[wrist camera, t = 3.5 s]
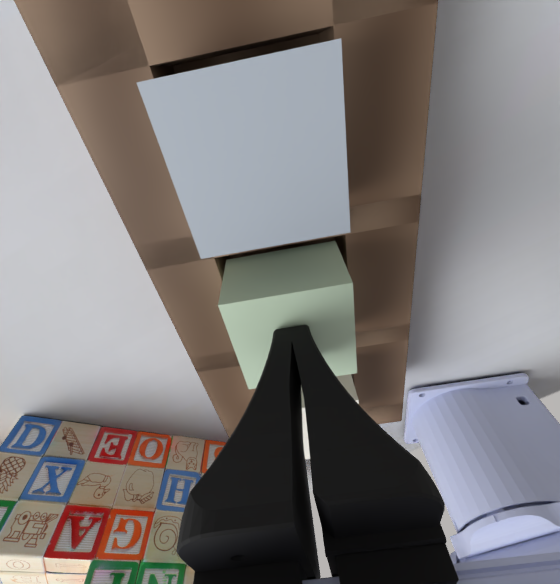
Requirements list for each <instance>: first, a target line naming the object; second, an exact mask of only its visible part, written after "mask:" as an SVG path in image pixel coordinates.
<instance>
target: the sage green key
mask: <svg viewBox="0 0 560 584" xmlns="http://www.w3.org/2000/svg"><path fill="white" fill-rule="evenodd" d="M218 307H219V310H220V312H221V315H222V318H223V321H224V323H225V326H226V329H227V331H228V334H229V337H230V340H231V342H232V345H233V348H234V351H235V353H236V356H237V359H238V362H239V364H240V367H241V370H242V372H243V375H244V378H245V381H246V383H247V386H248V389H255V388H256V387H257V385H258V382H259V380H260V377H261V375H262V372H263V369H264V366H265V363H266V360H267V358H268V354H269V351H270V347H271V343H272V338H273V332H274V331H275V330H276V329H281V328H287V327H294V326H300V325H307V326H309V329H310V332H311V335H312V337H313V339H314V341H315V343H316V345H317V347H318V349H319V351H320V353H321V354H322V356H323V358H324V359H325V361H326V362H327V364H328V366H329V367H330V369H331V370H332V372H333V373H334V374H335V376H342V375H348V374H355V373H357V358H356V337H355V316H354V295H353V282H352V279H351V277H350V275H349V272H348V270H347V267H346V265H345V263H344V260H343V258H342V255H341V253H340V251H339V248H338V246H337V243H336V241H330V242H324V243H318V244H313V245H307V246H301V247H296V248H290V249H284V250H279V251H273V252H267V253H262V254H256V255H250V256H245V257H239V258H233V259H228V260H226V264H225V270H224V275H223V281H222V286H221V291H220V297H219V302H218Z"/></svg>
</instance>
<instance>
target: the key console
mask: <svg viewBox="0 0 560 584" xmlns="http://www.w3.org/2000/svg"><path fill="white" fill-rule="evenodd" d="M14 1H15V3H16V5H17V7H18V10H19V12H20V14H21V16H22V18H23V20H24V22H25V24H26V26H27V28H28V30H29V32H30V34H31V36H32V38H33V40H34V42H35V44H36V46H37V48H38V50H39V52H40V54H41V56H42V58H43V60H44V62H45V64H46V66H47V68H48V70H49V72H50V75H51V77H52V79H53V81H54V83H55V85H56V87H57V89H58V91H59V93H60V95H61V97H62V99H63V101H64V103H65V105H66V107H67V109H68V111H69V113H70V115H71V117H72V119H73V121H74V123H75V125H76V127H77V129H78V131H79V133H80V135H81V138H82V140H83V142H84V144H85V146H86V148H87V150H88V152H89V154H90V156H91V158H92V160H93V162H94V164H95V166H96V168H97V170H98V172H99V174H100V176H101V178H102V180H103V182H104V184H105V186H106V188H107V190H108V192H109V194H110V196H111V198H112V201H113V203H114V205H115V207H116V209H117V211H118V213H119V215H120V217H121V219H122V221H123V223H124V225H125V227H126V229H127V231H128V233H129V235H130V237H131V239H132V241H133V243H134V245H135V247H136V249H137V251H138V253H139V255H140V257H141V259H142V261H143V264H144V266H145V268H146V270H147V272H148V274H149V276H150V278H151V280H152V282H153V284H154V286H155V288H156V290H157V292H158V294H159V296H160V298H161V300H162V302H163V304H164V306H165V308H166V310H167V312H168V314H169V316H170V318H171V320H172V322H173V324H174V326H175V329H176V331H177V333H178V335H179V337H180V339H181V341H182V343H183V345H184V347H185V349H186V351H187V353H188V355H189V357H190V359H191V361H192V363H193V365H194V367H195V369H196V371H197V373H198V375H199V377H200V379H201V381H202V383H203V385H204V387H205V389H206V392H207V394H208V396H209V398H210V400H211V402H212V404H213V406H214V408H215V410H216V412H217V414H218V416H219V418H220V420H221V422H222V424H223V426H224V428H225V430H226V432H227V434H228V436H229V438H230V436H231V435H232V433H233V432H234V430H235V428H236V426H237V425H238V423H239V421H240V419H241V418H242V416H243V414H244V412H245V410H246V408H247V406H248V404H249V402H250V400H251V398H252V396H253V394H254V392H255V389H256V388H255V389H248V386H247V383H246V381H245V378H244V375H243V372H242V370H241V367H240V364H239V362H238V359H237V356H236V353H235V351H234V348H233V345H232V342H231V340H230V337H229V334H228V331H227V329H226V326H225V323H224V321H223V318H222V315H221V312H220V310H219V307H218V302H219V297H220V291H221V286H222V281H223V275H224V270H225V264H226V260H228V259H233V258H239V257H245V256H250V255H256V254H262V253H267V252H273V251H279V250H284V249H290V248H296V247H301V246H307V245H313V244H318V243H324V242H330V241H336V243H337V246H338V248H339V251H340V253H341V255H342V258H343V260H344V263H345V265H346V267H347V270H348V272H349V275H350V277H351V279H352V282H353V295H354V316H355V337H356V358H357V373H355V374H351V376H352V379H353V383H354V386H355V390H356V393H357V396H358V400H359V405H360V406H361V408H362V409H363V410H364V411H365V412H366V413H367V414H368V415H369V416H370V417H371V418H372V419H373V420H374V421H375V422H376V423H377V424H382V423H389V422H397V421H401V420H402V408H403V397H404V385H405V374H406V362H407V351H408V340H409V328H410V317H411V305H412V294H413V282H414V271H415V259H416V248H417V236H418V225H419V213H420V202H421V190H422V179H423V167H424V156H425V144H426V133H427V121H428V110H429V98H430V87H431V75H432V64H433V52H434V41H435V29H436V18H437V6H438V0H14ZM340 38H341V43H342V64H343V85H344V106H345V127H346V148H347V169H348V190H349V211H350V233H345V234H339V235H333V236H328V237H322V238H316V239H311V240H305V241H300V242H294V243H288V244H283V245H277V246H271V247H266V248H260V249H255V250H249V251H243V252H238V253H232V254H226V255H221V256H215V257H210V258H204V259H201V258H200V255H199V252H198V250H197V247H196V244H195V241H194V239H193V236H192V233H191V230H190V228H189V225H188V222H187V219H186V217H185V214H184V211H183V209H182V206H181V203H180V200H179V198H178V195H177V192H176V189H175V187H174V184H173V181H172V179H171V176H170V173H169V170H168V168H167V165H166V162H165V159H164V157H163V154H162V151H161V148H160V146H159V143H158V140H157V138H156V135H155V132H154V129H153V127H152V124H151V121H150V118H149V116H148V113H147V110H146V107H145V105H144V102H143V99H142V97H141V94H140V91H139V88H138V86H137V82H141V81H146V80H150V79H155V78H160V77H164V76H169V75H174V74H178V73H183V72H187V71H192V70H197V69H201V68H206V67H211V66H215V65H220V64H225V63H229V62H234V61H238V60H243V59H248V58H252V57H257V56H262V55H266V54H271V53H275V52H280V51H285V50H289V49H294V48H299V47H303V46H308V45H312V44H317V43H322V42H326V41H331V40H336V39H340Z"/></svg>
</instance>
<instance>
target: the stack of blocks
mask: <svg viewBox="0 0 560 584" xmlns="http://www.w3.org/2000/svg"><path fill="white" fill-rule="evenodd" d="M225 444H226V442H218V441H212V440H204V439H198V438H191V437H184V436H177V435H173V436H171V435H163V434H156V433H148V432H141V431H139V432H137V431H132V430H125V429H118V428H110V427H101V426H97V425H89V424H82V423H75V422H68V421H60V420H55V419H47V418H40V417H32V416H22V417H21V418H20V419H19V421H18V422H17V423H16V425H15V426H14V428H13V429H12V431H11V432H10V434H9V435H8V436H7V438H6V439H5V441H4V442H3V444H2V445H1V446H0V583H2V584H193V581H194V573H195V571H194V570H193V569H192V568H191V567H190V566H188V565H187V564H186V563H185V562H184V561H183V560H182V559H181V558H180V556H179V555H178V554H177V552H176V550H177V543H178V537H179V531H180V525H181V520H182V516H183V513H184V509H185V505H186V502H187V499H188V496H189V493H190V491H191V490H192V489H193V487H194V486H195V485H196V484H197V482H198V481H199V480H200V478H201V477H202V476H203V475H204V473H205V472H206V471H207V470H208V468H209V467H210V466H211V464H212V463H213V462H214V460H215V459H216V457H217V456H218V454H219V453H220V451H221V450H222V448H223V447H224V445H225Z"/></svg>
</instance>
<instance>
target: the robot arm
mask: <svg viewBox="0 0 560 584" xmlns="http://www.w3.org/2000/svg"><path fill="white" fill-rule="evenodd" d="M528 380H529V377H528V376H527V375H526V374H525V373H519V374H512V375H505V376H498V377H491V378H484V379H477V380H471V381H464V382H457V383H450V384H443V385H436V386H429V387H422V388H415V389H412V390H410V391H409V393H408V400H407V410H406V420H405V430H404V441H405V443H407V444H411V443H420V445H421V447H422V450H423V452H424V455H425V457H426V459H427V462H428V464H429V467H430V469H431V471H432V474H433V476H434V479H435V481H436V483H437V486H438V488H439V491H440V493H441V495H442V497H441V495H440V493H439V491H438V489H437V487H436V485H435V484H434V482H433V480H432V479H431V477H430V476H429V474H428V473H427V471H426V470H425V469H424V467H423V466H422V464H421V463H420V461H419V460H418V459H416V458H415V457H414V456H413V455H411V454H410V453H409V452H408V451H407V450H405V449H404V448H403V447H402V446H401V445H400V444H398V443H397V442H396V441H395V440H394V439H393V438H392V437H391V436H390V435H388V434H387V433H386V432H385V431H384V430H383V429H382V428H381V427H380V426H379V425H378V424H377V423H376V422H375V421H374V420H373V419H372V418H371V417H370V416H369V415H368V414H367V413H366V412H365V411H364V410H363V409H362V408H361V406H360V405H359V404H358V403H357V402H356V401H355V400H354V399H353V397H352V396H351V395H350V394H349V393H348V391H347V390H346V389H345V388H344V386H343V385H342V384H341V383H340V381H339V380H338V378H337V377H336V376H335V374H334V373H333V372H332V370H331V369H330V367H329V366H328V364H327V362H326V361H325V359H324V358H323V356H322V354H321V353H320V351H319V349H318V347H317V345H316V343H315V341H314V339H313V337H312V335H311V332H310V329H309V326H307V325H300V326H294V327H287V328H281V329H276V330H275V331H274V332H273V338H272V343H271V347H270V351H269V354H268V358H267V360H266V363H265V366H264V369H263V372H262V375H261V377H260V380H259V382H258V385H257V387H256V389H255V392H254V394H253V396H252V398H251V400H250V402H249V404H248V406H247V408H246V410H245V412H244V414H243V416H242V418H241V419H240V421H239V423H238V425H237V426H236V428H235V430H234V432H233V433H232V435H231V436H230V438H229V440H228V441H227V443H226V444H225V445H224V447H223V448H222V450H221V451H220V453H219V454H218V456H217V457H216V459H215V460H214V462H213V463H212V464H211V466H210V467H209V468H208V470H207V471H206V472H205V473H204V475H203V476H202V477H201V478H200V480H199V481H198V482H197V484H196V485H195V486H194V487H193V489H192V490H191V491H190V493H189V496H188V499H187V502H186V505H185V509H184V513H183V516H182V520H181V525H180V531H179V537H178V543H177V550H176V552H177V554H178V555H179V556H180V558H181V559H182V560H183V561H184V562H185V563H186V564H187V565H188V566H190V567H191V568H192V569H193V570H194V571H195V573H194V581H193V584H560V424H559V422H558V421H557V420H556V419H555V418H554V416H553V415H552V414H551V413H550V412H549V411H548V409H547V408H546V407H545V406H544V404H543V403H542V402H541V401H540V400H539V398H538V397H537V396H536V395H535V394H534V392H533V391H532V390H531V389H530V388H529V386H528V385H527V383H528ZM301 387H302V391H303V396H304V403H305V412H306V422H307V431H308V441H309V451H310V462H311V473H312V484H313V494H314V498H315V502H316V506H317V509H318V513H319V517H320V521H321V525H322V531H323V540H324V546H325V554H326V557H327V559H328V563H329V566H330V570H331V574H332V577H329V578H320V570H319V563H318V556H317V548H316V542H315V533H314V527H313V518H312V510H311V503H310V495H309V487H308V479H307V471H306V463H305V455H304V446H303V426H302V398H301ZM442 498H443V499H442ZM443 500H444V501H443ZM444 503H445V505H446V507H447V510H448V512H449V515H450V517H451V519H452V522H453V524H454V526H455V529H456V531H457V534H456V535H453V536H451V537H450V539H451V541H452V544H453V546H454V549H455V551H454V552H453V553H451V555H449V552H448V550H447V547H446V545H445V543H446V537H445V535H444V532H443V530H442V527H441V524H440V521H441V518H442V515H443V512H444Z"/></svg>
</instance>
